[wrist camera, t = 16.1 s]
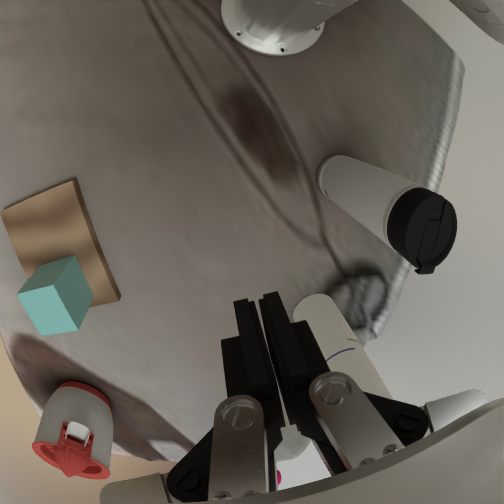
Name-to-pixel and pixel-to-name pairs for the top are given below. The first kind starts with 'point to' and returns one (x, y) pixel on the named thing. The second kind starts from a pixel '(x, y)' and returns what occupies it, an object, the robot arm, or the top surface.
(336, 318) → the cylindrical container
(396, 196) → the travel mug
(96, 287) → the board
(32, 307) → the mint green cube
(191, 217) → the top surface
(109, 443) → the citrus juicer
